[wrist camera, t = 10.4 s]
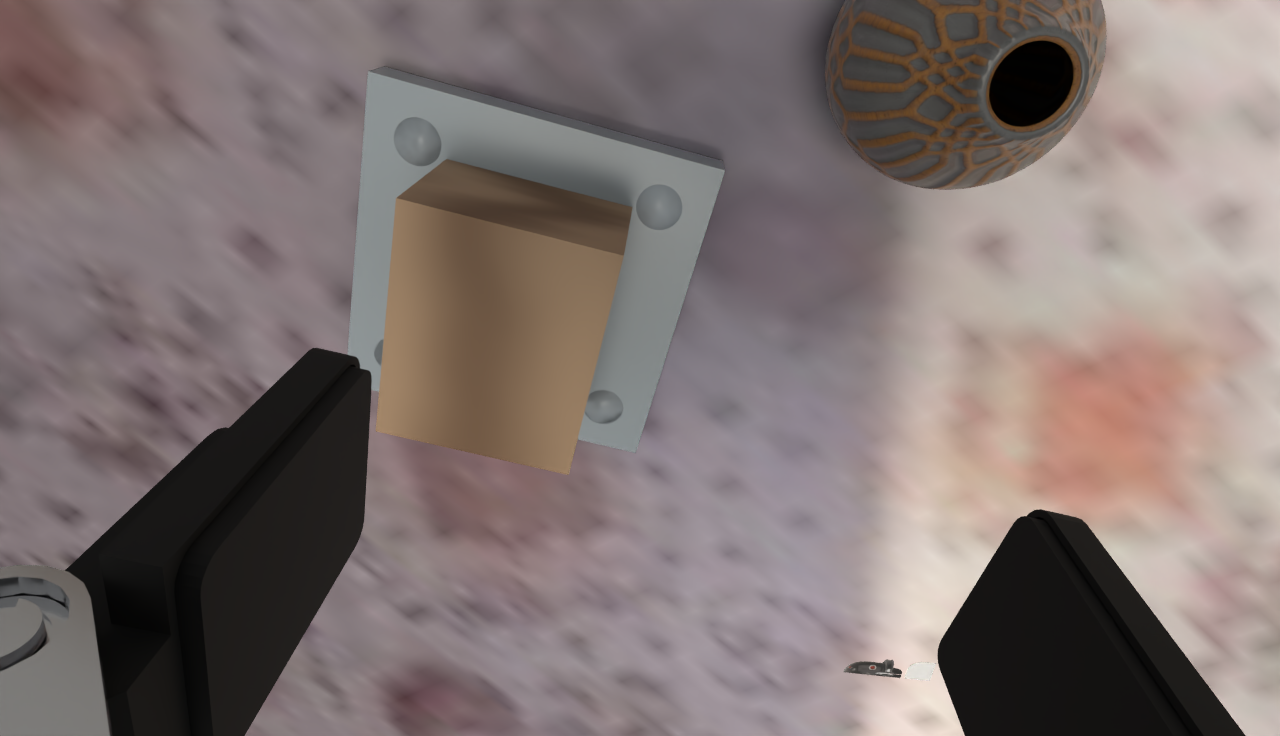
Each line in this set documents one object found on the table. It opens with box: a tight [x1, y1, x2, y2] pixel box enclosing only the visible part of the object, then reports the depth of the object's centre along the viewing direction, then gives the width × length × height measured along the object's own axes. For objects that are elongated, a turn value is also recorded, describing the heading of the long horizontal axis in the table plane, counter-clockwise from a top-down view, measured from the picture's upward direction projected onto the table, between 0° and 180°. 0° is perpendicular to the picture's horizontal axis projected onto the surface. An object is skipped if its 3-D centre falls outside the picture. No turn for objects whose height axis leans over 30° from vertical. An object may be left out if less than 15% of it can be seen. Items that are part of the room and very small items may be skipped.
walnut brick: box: [376, 159, 633, 475], centre depth 24 cm, size 6×8×5 cm
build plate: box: [348, 67, 725, 453], centre depth 27 cm, size 12×12×2 cm
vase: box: [825, 0, 1106, 190], centre depth 20 cm, size 7×7×9 cm
